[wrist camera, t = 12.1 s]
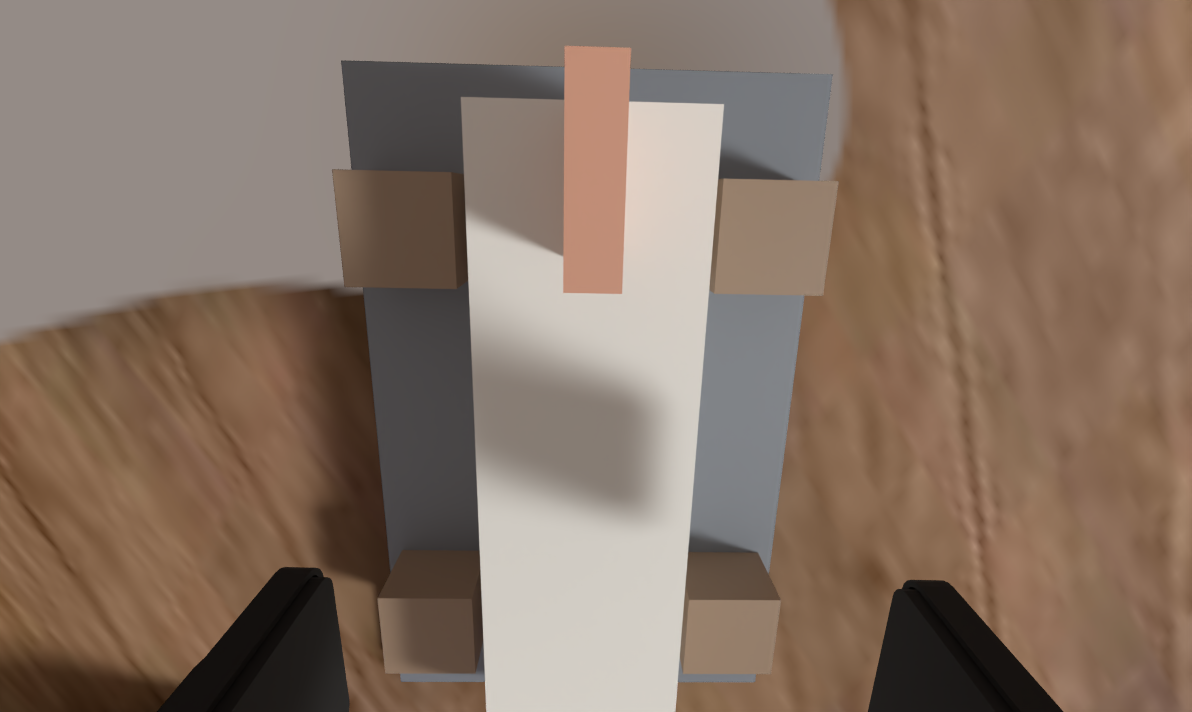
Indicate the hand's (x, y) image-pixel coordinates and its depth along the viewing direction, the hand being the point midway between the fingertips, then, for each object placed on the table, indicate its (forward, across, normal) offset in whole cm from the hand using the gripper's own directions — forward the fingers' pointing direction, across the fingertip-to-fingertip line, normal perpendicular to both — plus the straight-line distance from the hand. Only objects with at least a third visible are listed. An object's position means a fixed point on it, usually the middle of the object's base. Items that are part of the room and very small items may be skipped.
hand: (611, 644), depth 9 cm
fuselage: (+10, +1, +1) cm, 10 cm away
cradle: (+11, +1, 0) cm, 11 cm away
